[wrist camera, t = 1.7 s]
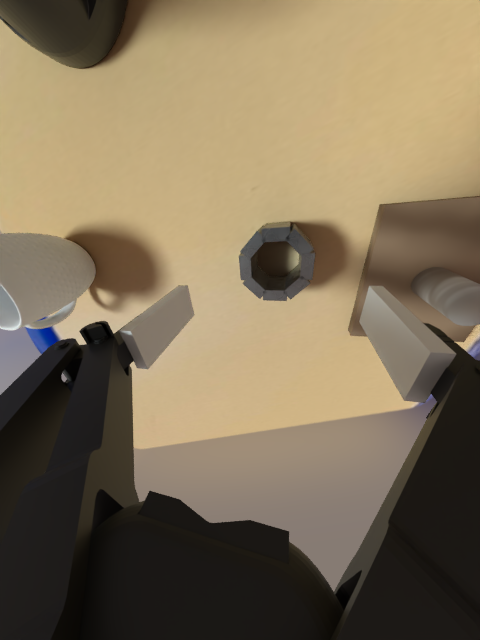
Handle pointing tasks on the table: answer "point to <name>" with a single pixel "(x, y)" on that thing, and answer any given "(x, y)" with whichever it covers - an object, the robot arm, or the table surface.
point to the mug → (40, 279)
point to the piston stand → (427, 263)
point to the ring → (277, 285)
